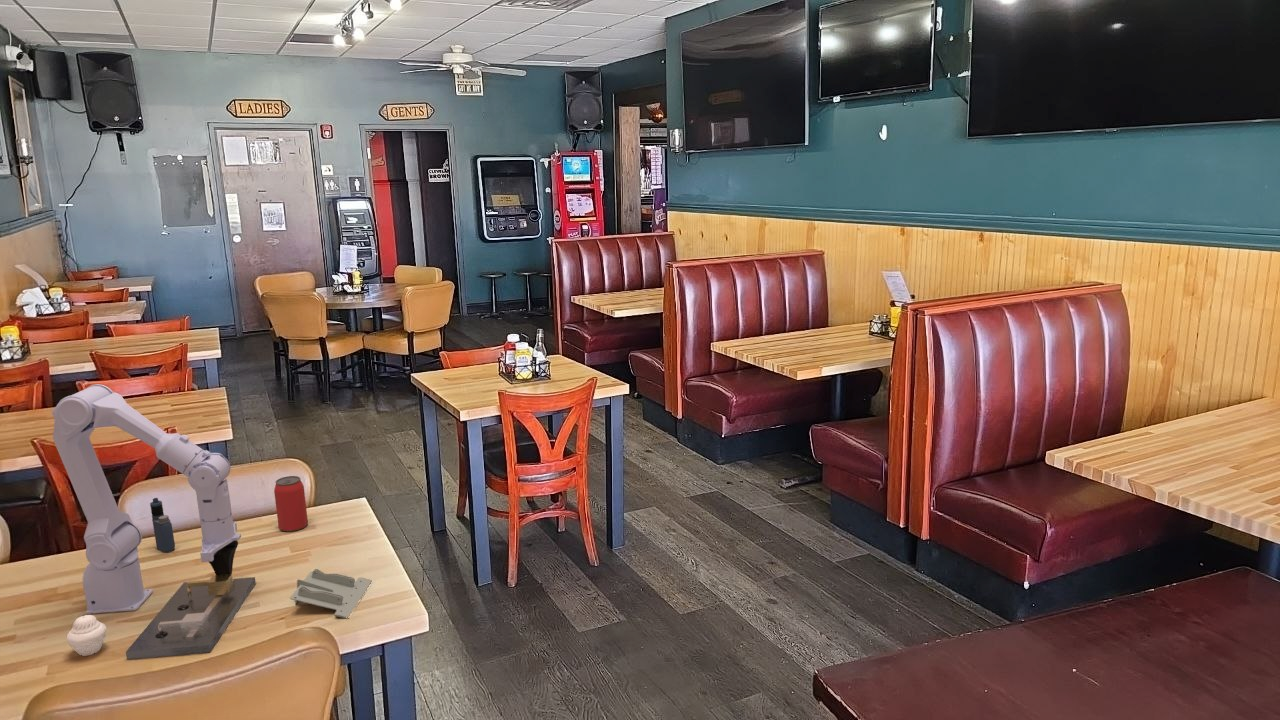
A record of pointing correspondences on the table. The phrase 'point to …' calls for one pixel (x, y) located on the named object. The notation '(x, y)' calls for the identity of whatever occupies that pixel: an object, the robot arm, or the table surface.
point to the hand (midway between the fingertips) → (224, 579)
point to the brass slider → (214, 584)
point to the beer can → (290, 503)
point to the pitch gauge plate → (195, 607)
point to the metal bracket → (331, 591)
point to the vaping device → (162, 527)
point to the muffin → (87, 635)
